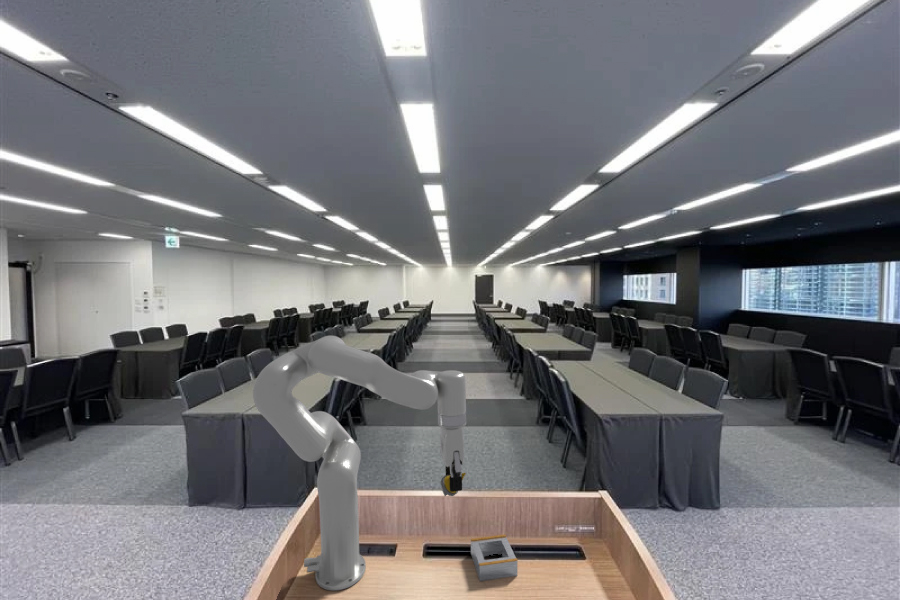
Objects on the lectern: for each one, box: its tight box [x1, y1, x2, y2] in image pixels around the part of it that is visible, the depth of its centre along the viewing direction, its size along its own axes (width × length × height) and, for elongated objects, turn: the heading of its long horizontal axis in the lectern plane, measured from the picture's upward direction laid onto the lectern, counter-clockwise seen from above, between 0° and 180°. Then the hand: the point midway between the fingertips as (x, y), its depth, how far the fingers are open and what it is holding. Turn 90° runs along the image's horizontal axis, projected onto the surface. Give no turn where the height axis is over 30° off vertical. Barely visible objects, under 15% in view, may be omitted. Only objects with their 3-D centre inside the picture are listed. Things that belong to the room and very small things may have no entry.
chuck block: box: [470, 534, 518, 582], centre depth 104 cm, size 10×10×4 cm
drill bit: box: [440, 472, 467, 497], centre depth 103 cm, size 5×5×10 cm
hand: (453, 483), depth 104 cm, fingers closed on drill bit, 5 cm apart
